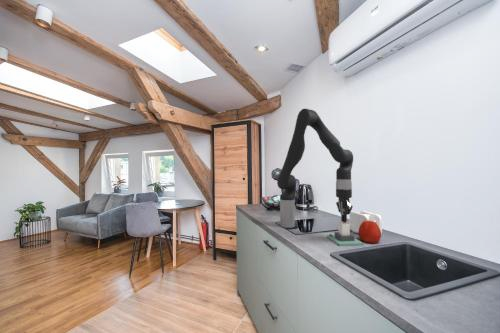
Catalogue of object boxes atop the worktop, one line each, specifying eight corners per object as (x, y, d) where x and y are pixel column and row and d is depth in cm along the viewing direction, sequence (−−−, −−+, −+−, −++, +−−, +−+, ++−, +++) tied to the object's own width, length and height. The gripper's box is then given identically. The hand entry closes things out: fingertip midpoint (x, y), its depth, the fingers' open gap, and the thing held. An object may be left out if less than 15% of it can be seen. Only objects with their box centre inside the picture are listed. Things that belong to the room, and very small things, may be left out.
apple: (375, 238, 118) (374, 218, 118) (385, 244, 107) (385, 223, 108) (355, 237, 118) (355, 218, 118) (364, 244, 108) (363, 222, 108)
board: (327, 236, 120) (327, 230, 120) (348, 236, 121) (348, 229, 121) (339, 245, 106) (339, 238, 106) (363, 245, 107) (363, 237, 107)
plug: (338, 237, 115) (338, 221, 115) (345, 237, 116) (345, 221, 116) (342, 240, 111) (342, 223, 111) (349, 239, 112) (349, 223, 112)
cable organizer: (348, 230, 133) (348, 210, 133) (363, 229, 135) (363, 210, 135) (366, 237, 118) (366, 216, 118) (383, 236, 120) (383, 215, 120)
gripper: (331, 187, 120) (331, 219, 120) (343, 189, 107) (343, 225, 107) (344, 186, 121) (344, 218, 120) (357, 189, 107) (358, 225, 107)
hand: (344, 221), depth 114 cm, fingers closed
